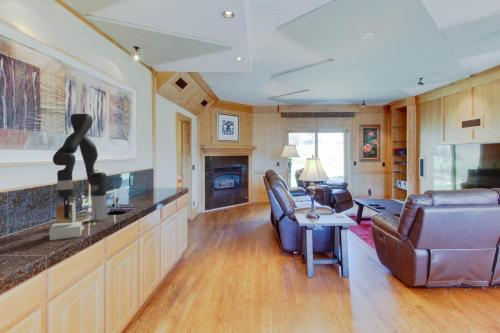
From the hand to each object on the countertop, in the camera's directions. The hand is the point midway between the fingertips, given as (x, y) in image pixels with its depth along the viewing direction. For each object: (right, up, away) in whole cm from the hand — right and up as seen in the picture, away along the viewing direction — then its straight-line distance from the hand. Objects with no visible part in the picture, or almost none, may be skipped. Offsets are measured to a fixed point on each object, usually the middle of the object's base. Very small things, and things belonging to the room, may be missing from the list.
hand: (66, 217), depth 155 cm
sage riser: (0, -11, 0) cm, 11 cm away
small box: (0, -3, 0) cm, 3 cm away
